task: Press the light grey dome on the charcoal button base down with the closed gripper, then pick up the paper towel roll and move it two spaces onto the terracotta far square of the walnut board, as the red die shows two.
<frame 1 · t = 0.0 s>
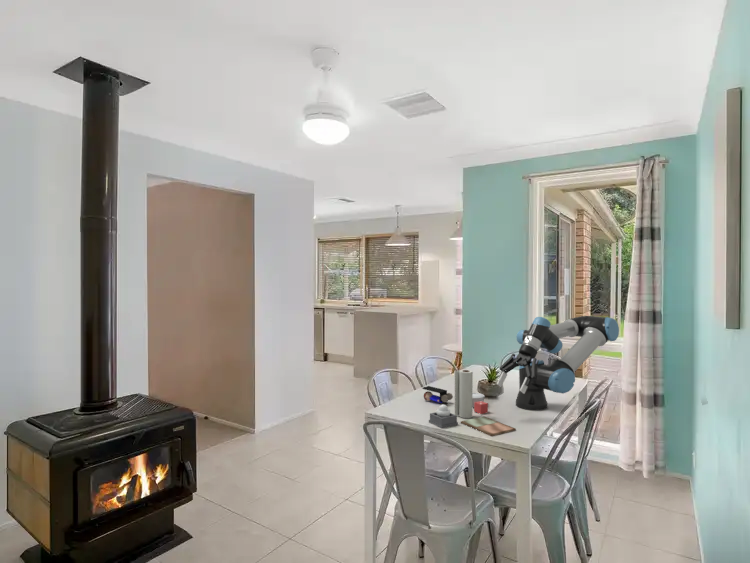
hand: (510, 388, 200), 15 cm above the table, tool tilted 35°, fingers open, 13 cm apart
button base: (443, 423, 200), on the table
figurine character: (437, 403, 234), on the table
ramekin: (473, 405, 229), on the table
pop dome: (443, 409, 200), point 6 cm above the table, slide at 0.0 cm
red die: (481, 412, 217), on the table
paper towel roll: (464, 416, 210), on the table
game board: (487, 426, 196), on the table
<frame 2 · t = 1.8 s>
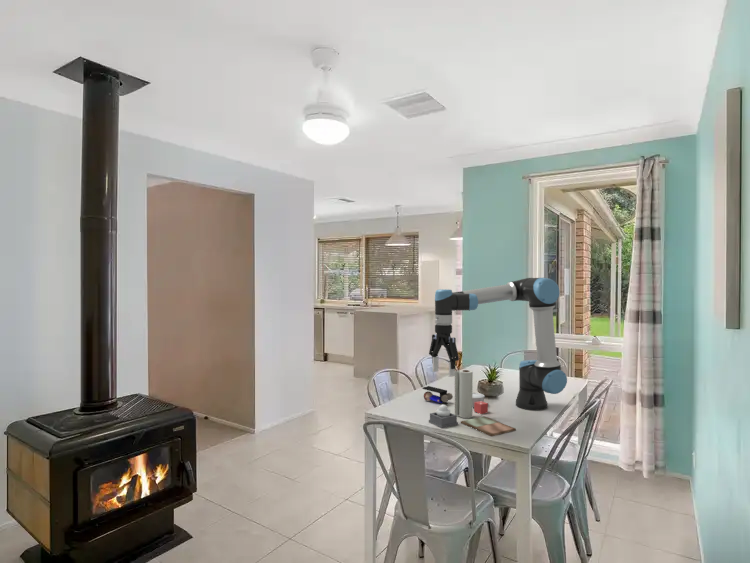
hand: (443, 373, 200), 22 cm above the table, tool pointing down, fingers open, 11 cm apart
nothing on the table moved.
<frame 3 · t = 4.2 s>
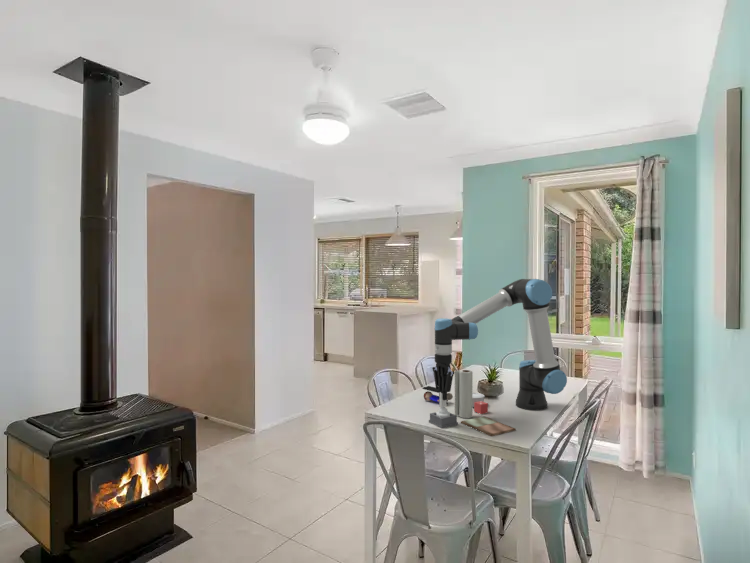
hand: (442, 406, 200), 8 cm above the table, tool pointing down, fingers closed
pop dome: (443, 412, 200), point 5 cm above the table, slide at 1.2 cm, touching gripper
everything else where it was.
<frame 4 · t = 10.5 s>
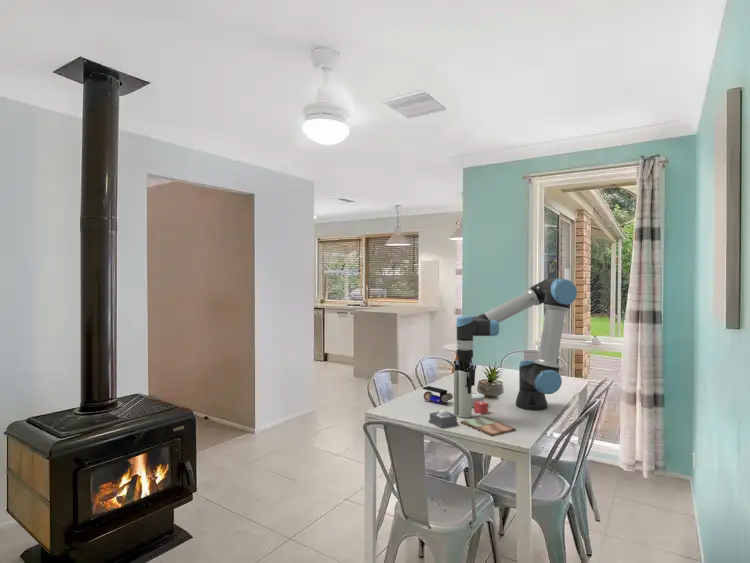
hand: (464, 399, 210), 8 cm above the table, tool pointing down, fingers closed on paper towel roll, 3 cm apart
pop dome: (443, 414, 200), point 4 cm above the table, slide at 2.2 cm
paper towel roll: (463, 416, 211), on the table, touching gripper
everything else where it was.
when the fingers open (10 cm above the table, at t = 16.7 s): paper towel roll drops 1 cm, resting on game board.
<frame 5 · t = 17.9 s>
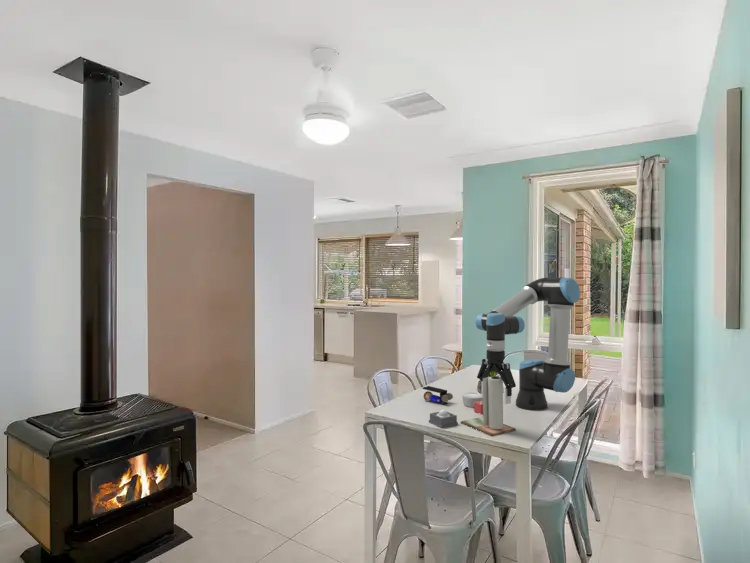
hand: (495, 399, 192), 13 cm above the table, tool pointing down, fingers open, 13 cm apart
paper towel roll: (494, 427, 192), point 1 cm above the table, touching game board
everything else where it was.
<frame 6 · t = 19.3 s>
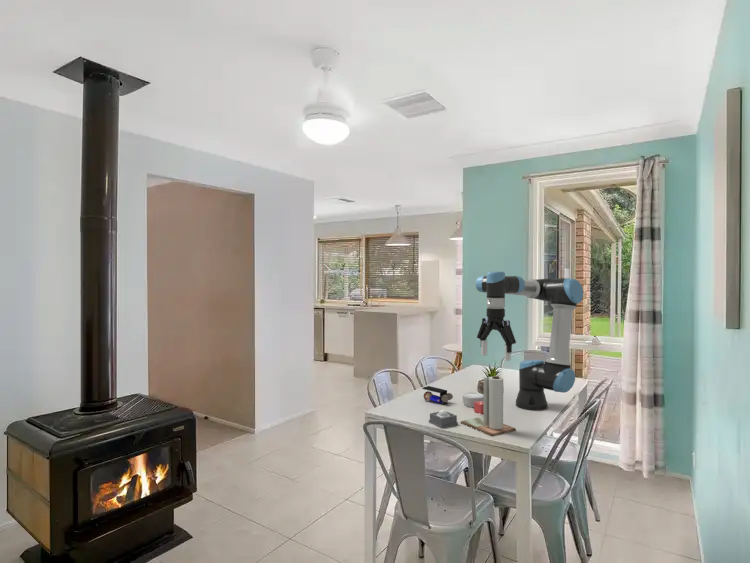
hand: (495, 357, 191), 31 cm above the table, tool pointing down, fingers open, 13 cm apart
nothing on the table moved.
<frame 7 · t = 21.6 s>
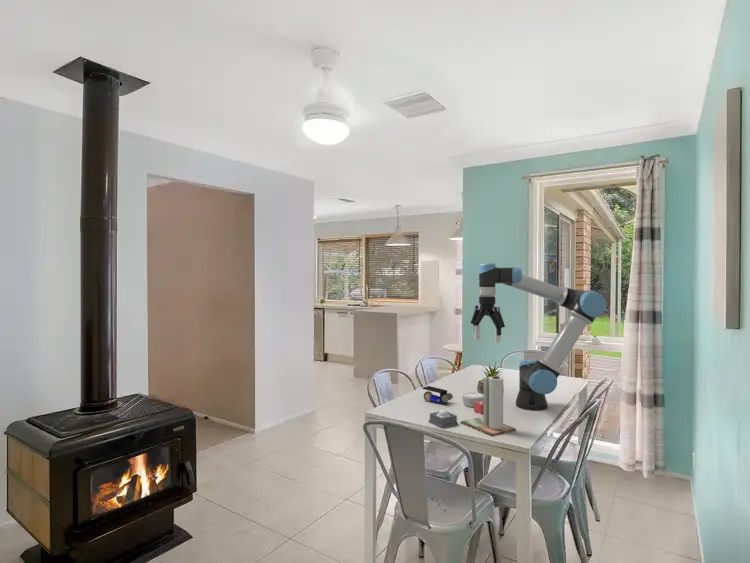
hand: (487, 340, 214), 35 cm above the table, tool pointing down, fingers open, 13 cm apart
nothing on the table moved.
at the end: pop dome slide at 2.2 cm; paper towel roll inside the target area on the game board (0.8 cm from its centre), point 0.7 cm above the game board's base; paper towel roll tilted 0° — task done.
